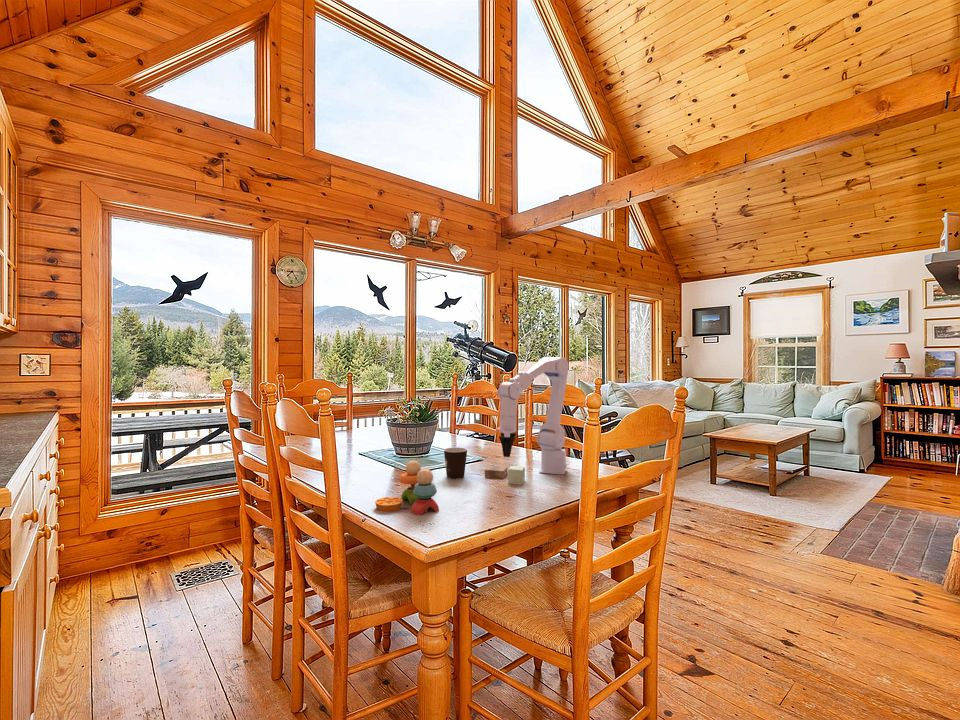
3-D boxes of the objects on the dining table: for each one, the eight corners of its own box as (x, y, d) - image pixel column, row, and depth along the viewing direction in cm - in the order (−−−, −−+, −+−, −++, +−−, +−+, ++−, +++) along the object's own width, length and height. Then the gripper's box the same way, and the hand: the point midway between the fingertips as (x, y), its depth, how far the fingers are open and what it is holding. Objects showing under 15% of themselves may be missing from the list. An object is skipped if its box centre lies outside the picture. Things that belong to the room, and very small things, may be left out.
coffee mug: (464, 480, 174) (464, 452, 173) (441, 479, 175) (441, 451, 175) (470, 472, 185) (470, 446, 185) (448, 471, 186) (448, 445, 186)
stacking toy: (368, 506, 145) (368, 464, 144) (416, 495, 156) (416, 456, 156) (400, 523, 131) (400, 477, 131) (450, 509, 142) (451, 467, 142)
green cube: (524, 480, 174) (524, 466, 174) (522, 484, 169) (522, 470, 169) (510, 479, 175) (511, 466, 175) (508, 483, 170) (508, 469, 170)
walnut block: (507, 474, 184) (507, 466, 184) (503, 479, 177) (503, 471, 177) (489, 473, 186) (489, 465, 185) (484, 477, 179) (484, 469, 179)
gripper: (498, 413, 179) (497, 450, 179) (495, 418, 165) (494, 458, 165) (517, 414, 179) (516, 451, 178) (516, 418, 164) (515, 459, 164)
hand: (507, 454), depth 172 cm, fingers open, 7 cm apart
